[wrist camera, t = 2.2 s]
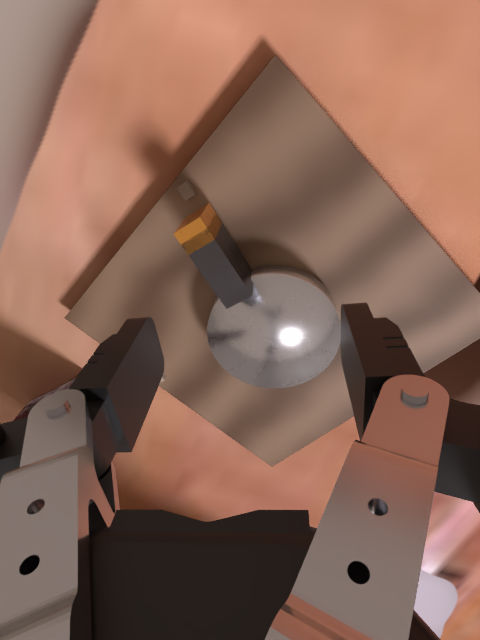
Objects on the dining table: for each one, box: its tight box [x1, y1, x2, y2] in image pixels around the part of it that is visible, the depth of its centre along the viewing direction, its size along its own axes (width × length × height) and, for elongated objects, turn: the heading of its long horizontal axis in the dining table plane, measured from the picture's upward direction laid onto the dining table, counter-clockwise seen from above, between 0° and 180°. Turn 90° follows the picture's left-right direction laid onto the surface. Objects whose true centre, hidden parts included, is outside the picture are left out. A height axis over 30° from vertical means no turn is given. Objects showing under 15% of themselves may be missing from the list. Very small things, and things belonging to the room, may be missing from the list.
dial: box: [173, 203, 341, 388], centre depth 28 cm, size 16×10×4 cm, turn 32°
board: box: [65, 55, 480, 467], centre depth 31 cm, size 25×25×2 cm
